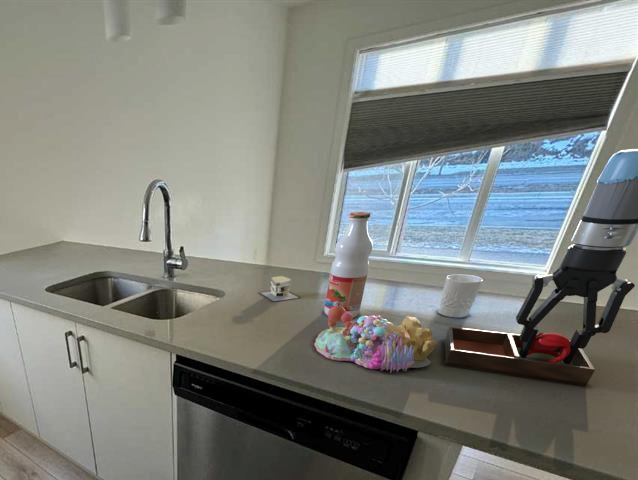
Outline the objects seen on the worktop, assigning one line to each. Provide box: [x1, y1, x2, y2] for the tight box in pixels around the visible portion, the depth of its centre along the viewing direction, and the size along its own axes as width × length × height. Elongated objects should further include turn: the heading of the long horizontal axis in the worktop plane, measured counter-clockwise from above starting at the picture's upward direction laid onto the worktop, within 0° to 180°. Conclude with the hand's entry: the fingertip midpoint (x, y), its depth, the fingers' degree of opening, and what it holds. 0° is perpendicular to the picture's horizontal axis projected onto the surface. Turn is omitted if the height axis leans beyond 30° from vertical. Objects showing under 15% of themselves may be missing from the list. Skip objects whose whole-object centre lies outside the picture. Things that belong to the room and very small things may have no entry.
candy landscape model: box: [313, 305, 438, 374], centre depth 96 cm, size 25×24×9 cm
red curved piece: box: [527, 332, 571, 363], centre depth 84 cm, size 8×6×6 cm
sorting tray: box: [444, 326, 596, 387], centre depth 88 cm, size 22×14×4 cm, turn 57°
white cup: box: [437, 273, 484, 318], centre depth 111 cm, size 8×8×10 cm
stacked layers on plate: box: [260, 275, 299, 302], centre depth 137 cm, size 10×9×6 cm
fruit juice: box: [323, 211, 374, 319], centre depth 113 cm, size 9×9×28 cm
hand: (543, 358), depth 85 cm, fingers closed on red curved piece, 6 cm apart
